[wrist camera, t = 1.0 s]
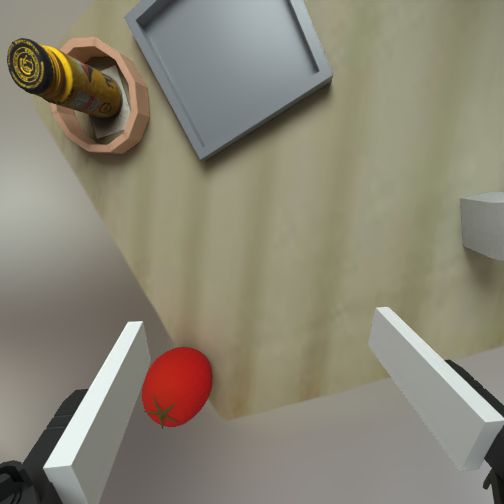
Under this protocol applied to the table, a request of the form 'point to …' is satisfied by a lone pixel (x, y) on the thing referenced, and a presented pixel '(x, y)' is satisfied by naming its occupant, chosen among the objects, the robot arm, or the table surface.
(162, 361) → the tomato
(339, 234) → the table surface
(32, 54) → the condiment
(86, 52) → the ring holder
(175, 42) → the tray
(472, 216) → the white carton
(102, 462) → the robot arm
